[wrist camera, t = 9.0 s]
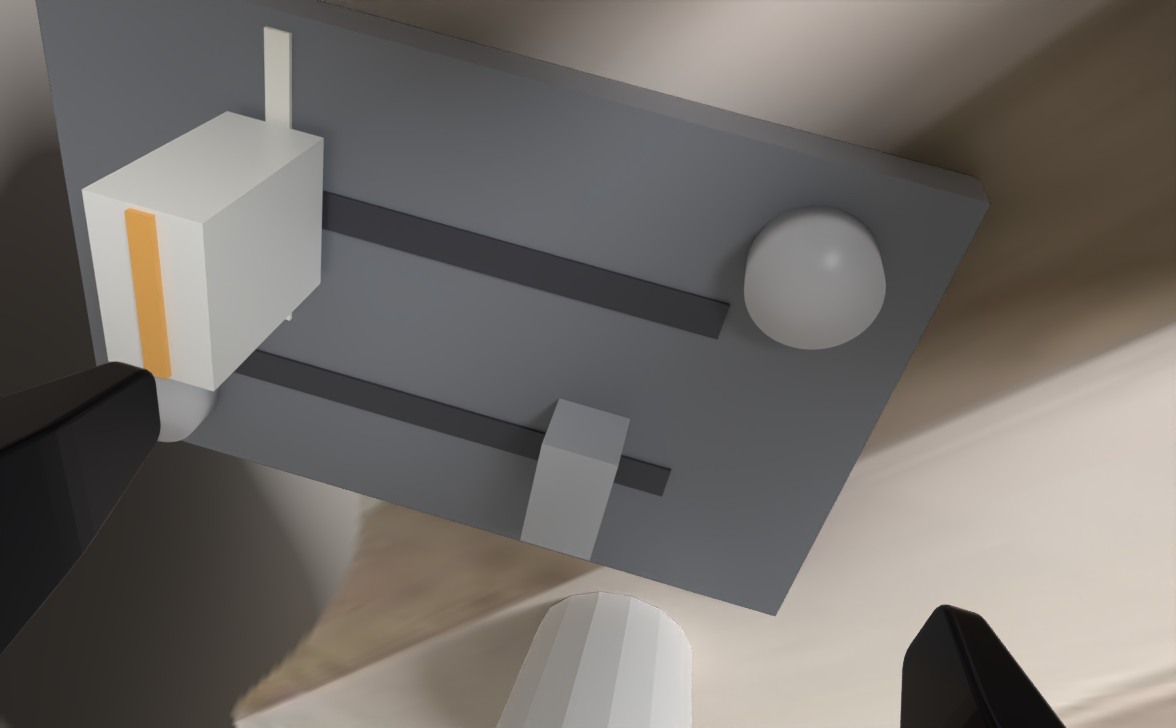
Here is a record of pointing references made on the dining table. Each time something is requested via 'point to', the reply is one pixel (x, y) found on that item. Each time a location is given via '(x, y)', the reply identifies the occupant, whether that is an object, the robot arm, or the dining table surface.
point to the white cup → (603, 668)
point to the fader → (206, 246)
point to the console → (536, 283)
